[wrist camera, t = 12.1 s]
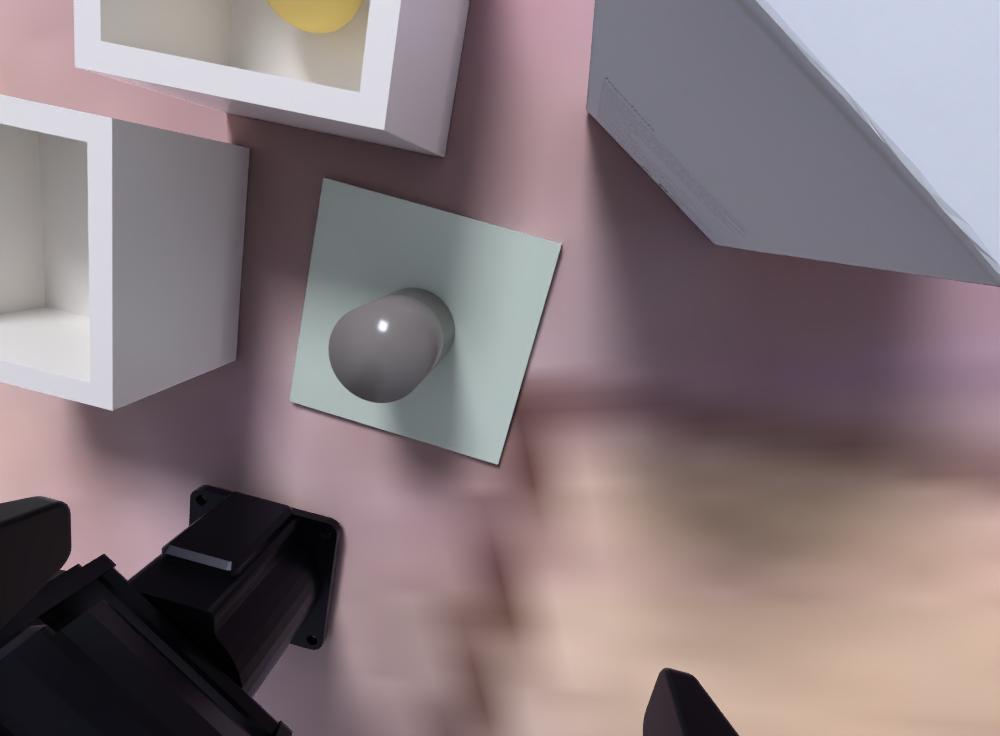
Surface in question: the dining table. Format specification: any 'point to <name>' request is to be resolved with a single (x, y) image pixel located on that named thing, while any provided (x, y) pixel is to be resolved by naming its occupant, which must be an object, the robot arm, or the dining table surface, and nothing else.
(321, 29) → the ball
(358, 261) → the lid
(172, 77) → the pot
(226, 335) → the pot
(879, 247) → the small box
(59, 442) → the dining table surface
